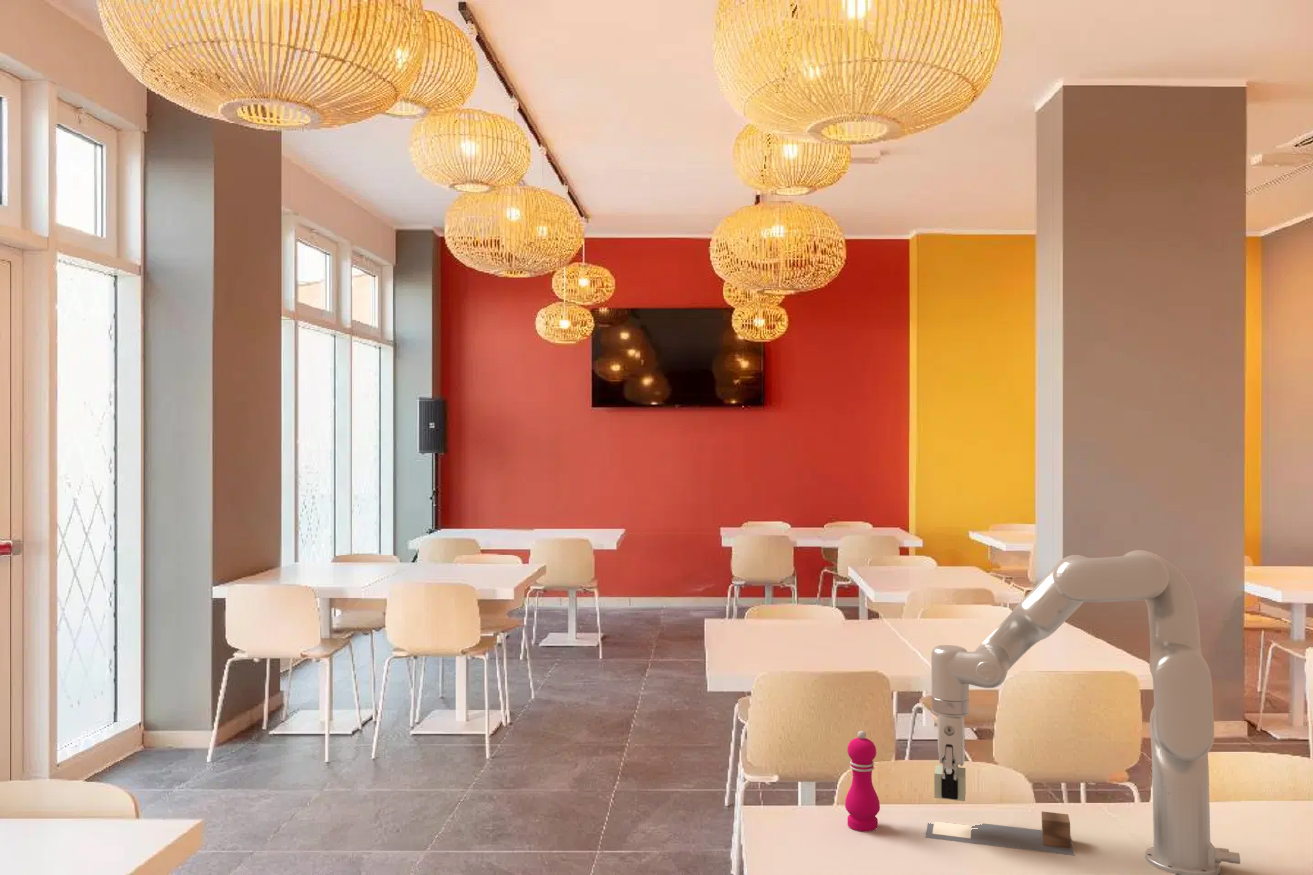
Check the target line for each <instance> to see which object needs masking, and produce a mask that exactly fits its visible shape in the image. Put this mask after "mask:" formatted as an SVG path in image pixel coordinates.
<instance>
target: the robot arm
mask: <svg viewBox="0 0 1313 875" xmlns="http://www.w3.org/2000/svg"><path fill="white" fill-rule="evenodd" d="M1129 601H1145V603H1146V607H1147V613H1148V616H1147V617H1148V625H1149V648H1150V649H1149V650H1150V652H1149V653H1150V654H1149V655H1150V656H1149V662H1148V663H1149V665H1148V666H1149V671H1150V673H1151V677H1152V687H1153V688H1152V689H1153V707H1152V708H1151V712H1150V714H1149V716H1150V717H1149V732H1150V744H1151V746H1150V747H1151V769H1152V770H1151V775H1152V776H1151V777H1152V778H1151V779H1152V781H1151V782H1152V786H1151V788H1152V817H1153V818H1152V822H1153V823H1152V825H1153V827H1152V828H1153V829H1152V830H1153V846H1152V847H1149V848H1147V849H1146V850H1145V852H1144V858H1145V860H1146V862H1147V863H1148V864H1150V865H1151V866H1153V867H1155V868H1157V869H1158V870H1162V871H1164V872H1167V873H1171V874H1175V875H1219V874H1220V873H1221V870H1222V869H1221V863H1222V862H1224V863H1229V864H1236V865H1240V864H1241V856H1240V853H1239V852H1234V851H1230V850H1229V848H1226V847H1225V848H1224V847H1215V845H1213V844H1212V842H1211V820H1210V819H1211V813H1210V812H1211V810H1210V808H1211V807H1210V769H1209V768H1210V767H1209V765H1210V764H1209V752H1210V751H1211V749H1212V747H1213V745H1214V741H1215V719H1214V718H1215V716H1214V699H1213V698H1214V697H1213V696H1214V694H1213V680H1212V675H1211V669H1210V668H1209V665H1208V663H1207V662H1206V660H1205V658H1204V657H1203V656H1204V655H1203V654H1202V653H1203V652H1202V646H1201V645H1202V644H1201V630H1200V622H1199V612H1198V605H1197V604H1198V603H1197V601H1196V597H1195V594H1194V591H1193V588H1192V587H1191V584H1190V583H1189V582H1188V580H1187V579H1186V577H1185V575H1184V574H1183V573H1182V572H1181V570H1179V569H1178V567H1176V566H1175V565H1174V564H1172V563H1171V562H1170V561H1168V560H1167V559H1165V558H1163V556H1162V557H1161V556H1160V555H1158V554H1156V553H1154V552H1151V551H1148V550H1143V549H1135V550H1132V551H1129V552H1126V553H1125V554H1124V555H1121V556H1119V555H1118V556H1109V557H1108V556H1107V557H1105V556H1104V557H1086V556H1083V555H1081V554H1071V555H1068V556H1065V557H1063V558H1062V559H1061V560H1059V561H1058V563H1057V564H1055V565H1054V567H1053V568H1052V569H1051V570H1050V571H1049V572H1048V573H1047V574H1046V575H1044V577H1043V578H1042V579H1041V580H1040V581H1039V582H1038V583H1037V584H1036V586H1034V588H1033V589H1032V590H1030V591H1029V592H1028V593H1027V594H1026V596H1025V597H1024V598H1023V599H1021V600H1020V601H1019V603H1018V604H1017V605H1016V606H1015V607H1014V608H1013V610H1011V612H1010V614H1009V615H1008V616H1007V617H1006V618H1005V619H1004V620H1003V621H1002V622H1001V623H1000V624H999V625H998V626H997V627H996V628H995V629H994V630H993V631H992V633H990V635H988V636H987V637H986V638H985V639H984V640H983V642H982V643H980V645H978V647H977V648H976V649H975V650H974V651H968V650H967V649H966V648H965V647H962V646H959V645H951V644H950V645H949V644H943V645H942V644H941V645H937V646H935V647H933V648H932V650H931V658H930V659H931V672H930V673H931V703H930V704H931V713H932V714H934V715H936V717H937V751H938V761H939V763H940V765H941V766H943V775H942V778H941V796H942V798H947V799H946V800H948V799H958V779H956V777H957V767H959V766H960V767H963V766H964V765H965V758H966V755H965V745H966V744H965V741H966V739H965V736H966V735H965V734H966V733H965V730H966V729H965V718H966V717H969V716H970V685H971V686H974V687H979V688H983V689H995V688H997V687H999V686H1001V685H1002V684H1003V683H1005V682H1004V681H1005V680H1006V679H1007V675H1008V671H1009V670H1011V668H1012V667H1013V666H1014V665H1015V664H1016V662H1018V661H1019V660H1020V659H1021V658H1022V657H1024V656H1023V655H1025V654H1026V653H1027V652H1028V651H1029V650H1030V649H1031V648H1032V647H1034V645H1036V644H1037V643H1039V642H1040V641H1042V640H1045V639H1047V638H1049V637H1050V636H1052V635H1053V634H1054V633H1055V632H1056V631H1057V630H1058V629H1059V628H1060V627H1061V626H1062V625H1063V624H1064V623H1065V622H1066V620H1068V619H1069V618H1070V617H1071V616H1072V615H1073V614H1074V613H1075V612H1076V611H1077V610H1078V609H1079V608H1080V607H1081V606H1082V605H1083V604H1084V603H1110V602H1129ZM945 766H946V768H945ZM952 767H954V770H953V769H952Z"/></svg>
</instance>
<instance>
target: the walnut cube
mask: <svg viewBox="0 0 1313 875" xmlns="http://www.w3.org/2000/svg"><path fill="white" fill-rule="evenodd" d="M1041 830H1042V840H1043V845H1046V846H1054V847H1062V848H1071V846H1070V836H1071V821H1070V816H1069V814H1067V813H1059V812H1050V811H1043V810H1042V811H1041Z"/></svg>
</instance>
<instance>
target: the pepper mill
mask: <svg viewBox="0 0 1313 875" xmlns="http://www.w3.org/2000/svg"><path fill="white" fill-rule="evenodd" d="M847 754H848V757H849V758H850V761H849V764H850V765H849V769H851V770H852V781H851V785H850V787H849V789H848V791H847V793H846V797H845V800H844V808H845V810H846V811H847V813H848V814H849V815H847V826H848V827H849V828H850V829H851V830H854V831H856V830H857V832H865V833H866V832H873V830H874V831H876V830H877V829H878V828H879V827H878V826H879V824H878V823H879V822H878V821H879V820H878V817H877V815H878V813H880V811H881V810H880V809H881V806H880V800H879V796H878V794H877V792H876V790H875V787H874V784H873V778H872V776H873V771H874V769H875V766H874V765H875V762H874V759H875V758H876V756H877V747H876V745H875V743H874V742H873V741H872V740H871V739H869V738H867V734H866V732H865V731H863V730H859V731H858V733H857V737H855V738H853V739H851V740H850V741H849V743H848V746H847ZM876 828H877V829H876ZM875 829H876V830H875Z"/></svg>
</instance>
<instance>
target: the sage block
mask: <svg viewBox="0 0 1313 875" xmlns="http://www.w3.org/2000/svg"><path fill="white" fill-rule="evenodd" d="M945 768H946V766H945ZM952 769H953V770H954V767H952ZM942 775H943V765H942V764H940V765H938V764H936V765H935V768H934V782H933V783H934V785H933V786H934V790H933V791H934V799H941V800H949V801H957V802H959V801H960V802H966V794H967V793H966V792H967V790H966V789H967V787H966V786H967V784H966V783H967V780H966V779H967V778H966V775H967V774H966V767H961V766H960V767H959V766H958V767H957V777H956V779H958V799H947V798H942V796H941V778H942Z"/></svg>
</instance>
